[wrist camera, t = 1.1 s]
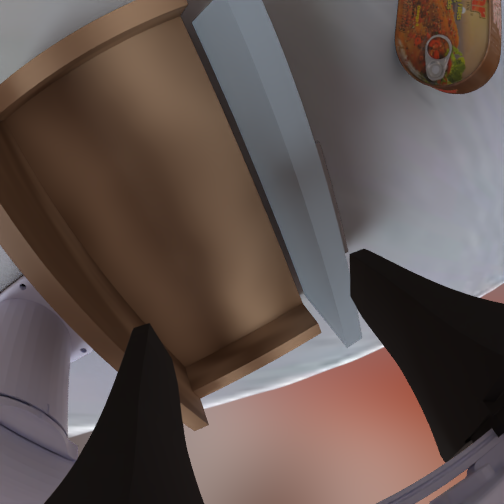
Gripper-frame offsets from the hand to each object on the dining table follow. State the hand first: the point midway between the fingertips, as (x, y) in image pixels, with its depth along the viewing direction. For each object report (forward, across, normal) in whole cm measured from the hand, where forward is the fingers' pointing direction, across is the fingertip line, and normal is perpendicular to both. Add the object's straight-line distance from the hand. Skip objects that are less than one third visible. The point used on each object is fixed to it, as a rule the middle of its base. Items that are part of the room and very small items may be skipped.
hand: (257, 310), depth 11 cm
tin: (+13, -19, -11) cm, 26 cm away
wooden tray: (+11, +3, +1) cm, 11 cm away
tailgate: (+9, -3, 0) cm, 10 cm away
